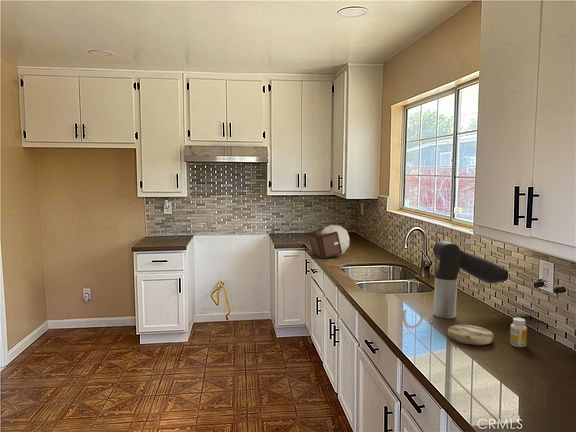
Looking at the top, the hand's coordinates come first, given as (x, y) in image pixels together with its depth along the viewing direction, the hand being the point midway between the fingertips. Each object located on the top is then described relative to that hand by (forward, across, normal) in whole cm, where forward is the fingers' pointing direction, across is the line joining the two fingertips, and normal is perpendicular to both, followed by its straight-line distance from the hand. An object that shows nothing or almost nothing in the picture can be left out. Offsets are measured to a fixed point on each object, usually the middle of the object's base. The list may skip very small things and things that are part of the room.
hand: (544, 287), depth 164 cm
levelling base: (+25, +10, -21) cm, 34 cm away
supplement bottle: (+11, 0, -21) cm, 24 cm away
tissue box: (+4, +178, -20) cm, 180 cm away
